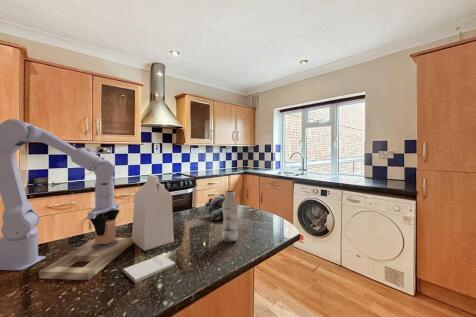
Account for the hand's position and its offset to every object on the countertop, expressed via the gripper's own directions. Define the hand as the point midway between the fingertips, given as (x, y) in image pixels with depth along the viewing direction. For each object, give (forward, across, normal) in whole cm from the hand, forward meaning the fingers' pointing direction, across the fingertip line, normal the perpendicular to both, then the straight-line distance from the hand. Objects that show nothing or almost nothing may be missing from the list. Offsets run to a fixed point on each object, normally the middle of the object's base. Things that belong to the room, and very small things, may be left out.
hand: (104, 232), depth 78 cm
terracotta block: (+3, 0, 0) cm, 3 cm away
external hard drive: (+7, -11, -21) cm, 25 cm away
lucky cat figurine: (+6, +40, -37) cm, 55 cm away
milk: (+6, +9, -14) cm, 17 cm away
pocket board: (+6, -6, 0) cm, 9 cm away
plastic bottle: (+6, +11, -44) cm, 46 cm away
